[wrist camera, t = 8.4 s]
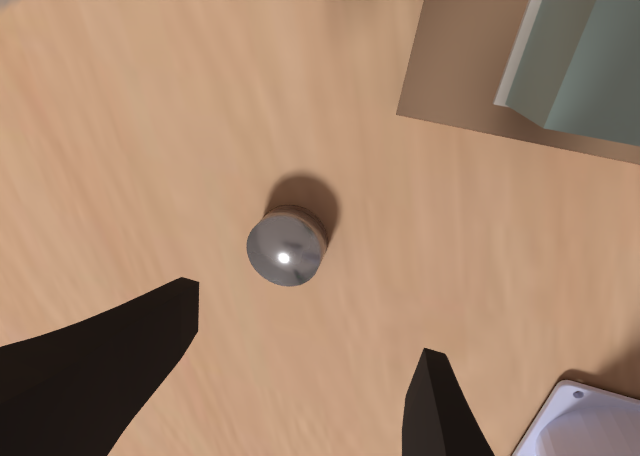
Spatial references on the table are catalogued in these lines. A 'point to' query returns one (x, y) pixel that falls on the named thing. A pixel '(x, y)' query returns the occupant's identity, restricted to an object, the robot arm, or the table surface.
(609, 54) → the block
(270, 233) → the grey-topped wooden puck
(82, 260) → the table surface
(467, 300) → the table surface
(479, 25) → the stand
